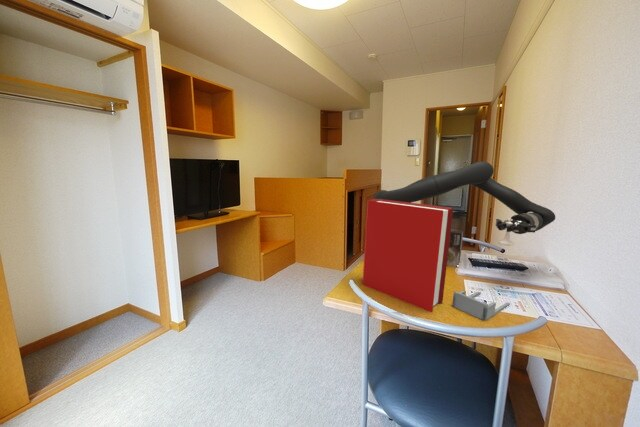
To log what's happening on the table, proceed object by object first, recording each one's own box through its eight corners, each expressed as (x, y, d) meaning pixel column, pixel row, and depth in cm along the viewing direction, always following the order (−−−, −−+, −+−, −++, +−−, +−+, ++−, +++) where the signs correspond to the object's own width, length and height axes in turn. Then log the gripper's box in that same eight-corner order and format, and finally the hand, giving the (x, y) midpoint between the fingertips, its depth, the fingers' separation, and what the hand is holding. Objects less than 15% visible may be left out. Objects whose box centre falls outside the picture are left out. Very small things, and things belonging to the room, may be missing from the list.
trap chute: (452, 306, 88) (453, 291, 87) (478, 293, 97) (479, 280, 96) (484, 320, 80) (487, 305, 79) (509, 305, 89) (511, 291, 88)
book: (442, 303, 89) (453, 207, 84) (432, 312, 83) (443, 210, 78) (372, 278, 108) (377, 198, 102) (360, 284, 102) (365, 200, 97)
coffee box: (460, 263, 127) (464, 230, 124) (458, 267, 122) (462, 233, 119) (439, 259, 132) (442, 227, 129) (436, 263, 127) (440, 230, 124)
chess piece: (494, 242, 102) (498, 216, 100) (507, 242, 102) (511, 216, 100) (504, 246, 97) (509, 218, 95) (517, 246, 97) (522, 218, 95)
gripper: (505, 210, 110) (484, 214, 101) (547, 216, 99) (528, 221, 90) (502, 228, 112) (482, 234, 102) (543, 236, 101) (525, 243, 91)
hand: (504, 228), depth 96 cm, fingers closed on chess piece
